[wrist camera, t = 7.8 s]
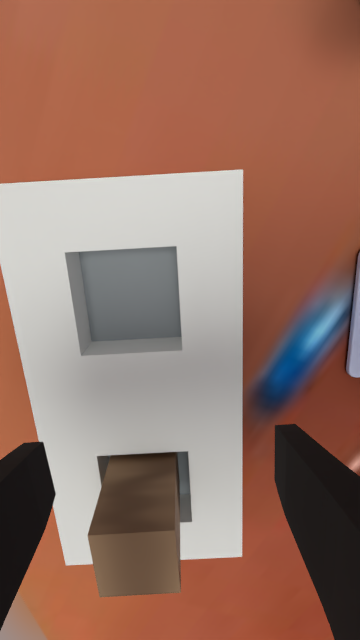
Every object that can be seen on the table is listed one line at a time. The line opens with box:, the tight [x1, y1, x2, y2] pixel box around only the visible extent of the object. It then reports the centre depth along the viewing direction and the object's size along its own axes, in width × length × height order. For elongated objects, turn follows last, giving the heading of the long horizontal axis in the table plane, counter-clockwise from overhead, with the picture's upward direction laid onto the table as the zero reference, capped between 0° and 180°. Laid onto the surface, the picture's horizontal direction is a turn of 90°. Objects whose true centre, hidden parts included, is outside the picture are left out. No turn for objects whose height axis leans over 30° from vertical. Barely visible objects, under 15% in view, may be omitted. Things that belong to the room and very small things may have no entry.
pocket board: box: [0, 170, 243, 565], centre depth 19 cm, size 12×24×2 cm, turn 3°
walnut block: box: [87, 452, 181, 597], centre depth 18 cm, size 4×4×7 cm
